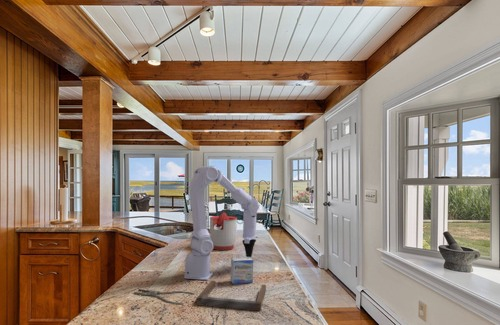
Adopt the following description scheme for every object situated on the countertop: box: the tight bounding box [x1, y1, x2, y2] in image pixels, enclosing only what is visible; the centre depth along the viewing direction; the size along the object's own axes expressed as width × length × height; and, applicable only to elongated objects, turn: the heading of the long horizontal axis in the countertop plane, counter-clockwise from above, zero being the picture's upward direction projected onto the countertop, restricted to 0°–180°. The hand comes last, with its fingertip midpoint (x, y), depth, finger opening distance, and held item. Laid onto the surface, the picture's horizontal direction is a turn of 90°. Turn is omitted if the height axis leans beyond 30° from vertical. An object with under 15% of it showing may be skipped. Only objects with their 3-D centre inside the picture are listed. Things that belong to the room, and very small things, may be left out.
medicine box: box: [230, 257, 254, 285], centre depth 113 cm, size 8×4×9 cm, turn 105°
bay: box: [196, 280, 267, 311], centre depth 98 cm, size 20×16×2 cm
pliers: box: [133, 288, 195, 306], centre depth 96 cm, size 10×1×20 cm
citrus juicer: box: [209, 212, 238, 251], centre depth 165 cm, size 16×17×20 cm
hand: (248, 256), depth 130 cm, fingers closed
